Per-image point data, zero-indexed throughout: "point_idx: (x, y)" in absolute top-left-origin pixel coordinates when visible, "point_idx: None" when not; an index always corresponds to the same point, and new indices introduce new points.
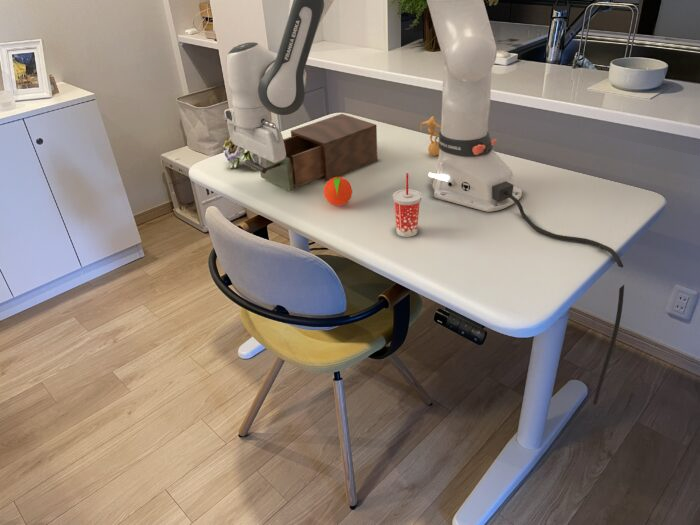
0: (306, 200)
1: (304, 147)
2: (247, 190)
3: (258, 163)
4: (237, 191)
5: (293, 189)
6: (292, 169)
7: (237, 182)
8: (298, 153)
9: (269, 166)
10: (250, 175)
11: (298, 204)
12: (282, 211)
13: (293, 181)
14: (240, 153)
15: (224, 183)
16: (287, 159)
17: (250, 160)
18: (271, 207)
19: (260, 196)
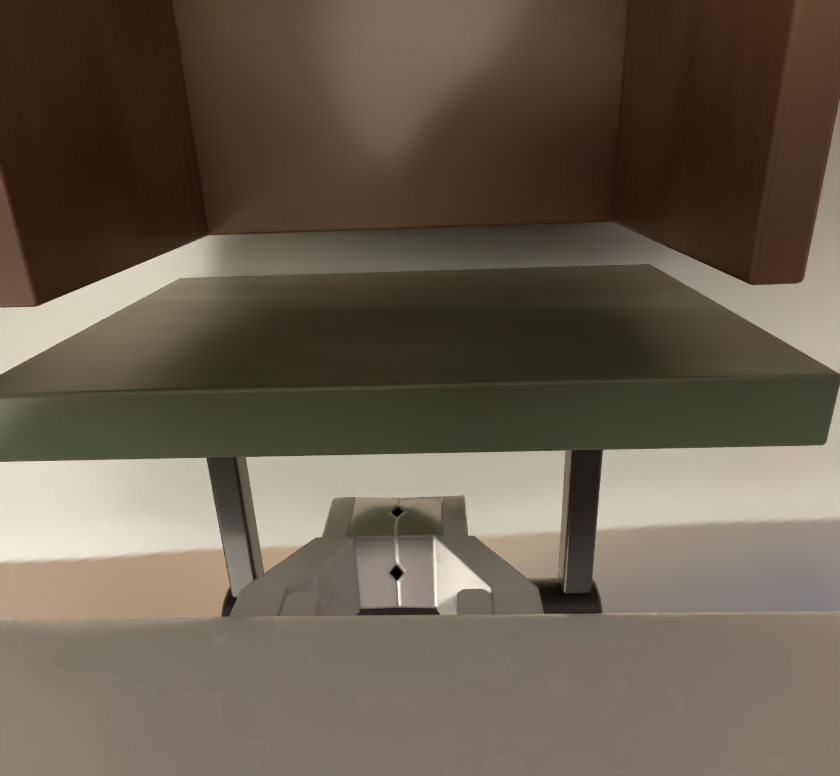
0: (823, 256)
1: None
2: (297, 480)
3: (421, 601)
4: (263, 533)
5: (653, 268)
6: (297, 8)
7: (110, 461)
8: (787, 109)
9: (573, 541)
10: (35, 322)
11: (814, 345)
12: (787, 484)
13: (568, 198)
14: None
15: (69, 531)
16: (829, 421)
17: (238, 591)
18: (672, 503)
19: (460, 467)
